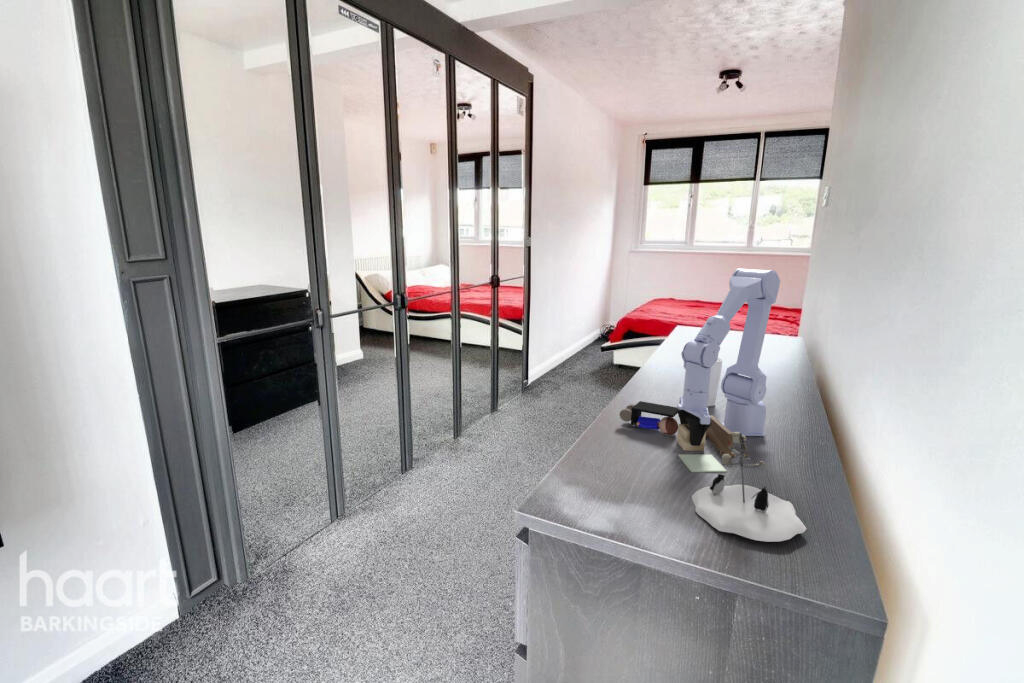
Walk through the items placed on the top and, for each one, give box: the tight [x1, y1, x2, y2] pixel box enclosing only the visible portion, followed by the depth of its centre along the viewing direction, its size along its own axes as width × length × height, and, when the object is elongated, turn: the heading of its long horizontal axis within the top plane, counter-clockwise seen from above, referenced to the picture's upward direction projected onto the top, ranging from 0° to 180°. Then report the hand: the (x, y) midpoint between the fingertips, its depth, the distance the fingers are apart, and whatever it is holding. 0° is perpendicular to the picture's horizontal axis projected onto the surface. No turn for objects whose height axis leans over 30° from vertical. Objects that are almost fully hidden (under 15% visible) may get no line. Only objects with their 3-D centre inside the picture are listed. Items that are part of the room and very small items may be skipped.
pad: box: [678, 453, 727, 473], centre depth 109 cm, size 8×8×1 cm
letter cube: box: [676, 423, 707, 452], centre depth 117 cm, size 5×5×5 cm
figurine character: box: [619, 400, 679, 437], centre depth 127 cm, size 7×8×15 cm
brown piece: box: [705, 414, 736, 458], centre depth 117 cm, size 3×12×6 cm, turn 0°
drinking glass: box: [707, 357, 723, 407], centre depth 147 cm, size 7×7×15 cm
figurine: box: [691, 432, 807, 543], centre depth 88 cm, size 20×18×16 cm
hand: (690, 440), depth 118 cm, fingers closed on letter cube, 5 cm apart
